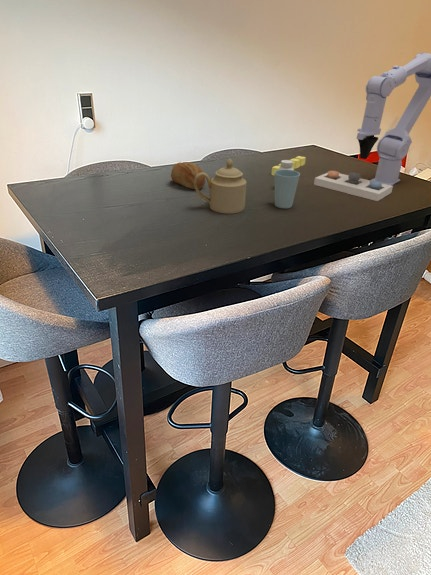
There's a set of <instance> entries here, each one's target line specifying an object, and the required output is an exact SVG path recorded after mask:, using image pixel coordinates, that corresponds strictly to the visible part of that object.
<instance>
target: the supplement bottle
mask: <svg viewBox="0 0 431 575" xmlns="http://www.w3.org/2000/svg"><path fill="white" fill-rule="evenodd" d="M290 160H291V159H283V160H281V161H280V164H281V167H279V169H278V170H293V171H295V168H294V169H293V168H292V165H293V161H290Z"/></svg>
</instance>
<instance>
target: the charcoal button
mask: <svg viewBox="0 0 431 575" xmlns="http://www.w3.org/2000/svg"><path fill="white" fill-rule="evenodd" d="M348 175H349V176H348V179H349V183H351V184H355V185H357V183H358V180H360V178H361V175H362V174H361V173H359V172H356V171H354V172H353V171H352V172H351V171H350V172H349V173H348Z"/></svg>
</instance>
